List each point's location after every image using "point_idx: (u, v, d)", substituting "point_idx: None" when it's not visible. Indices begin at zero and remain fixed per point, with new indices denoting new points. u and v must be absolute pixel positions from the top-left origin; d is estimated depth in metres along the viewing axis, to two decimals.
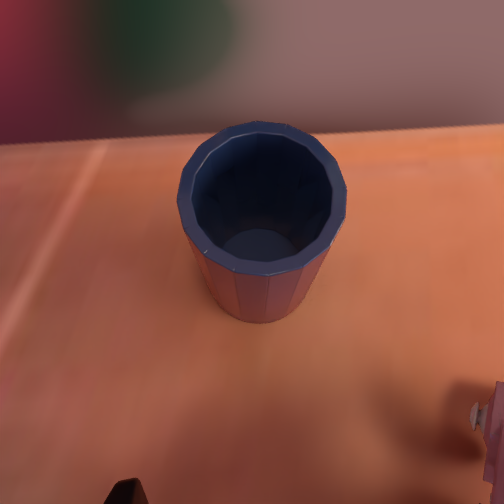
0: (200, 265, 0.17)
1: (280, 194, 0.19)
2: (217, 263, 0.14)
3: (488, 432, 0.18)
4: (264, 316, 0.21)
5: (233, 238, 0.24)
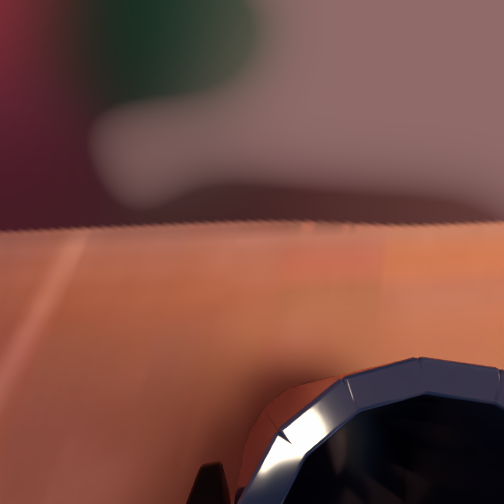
0: None
1: (399, 405, 0.10)
2: None
3: None
4: None
5: None
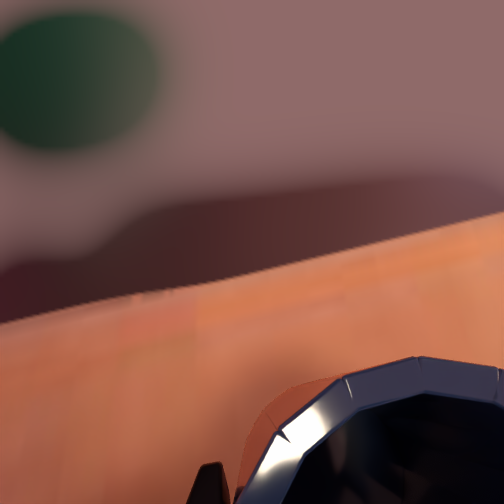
0: None
1: (398, 404, 0.10)
2: None
3: None
4: None
5: None
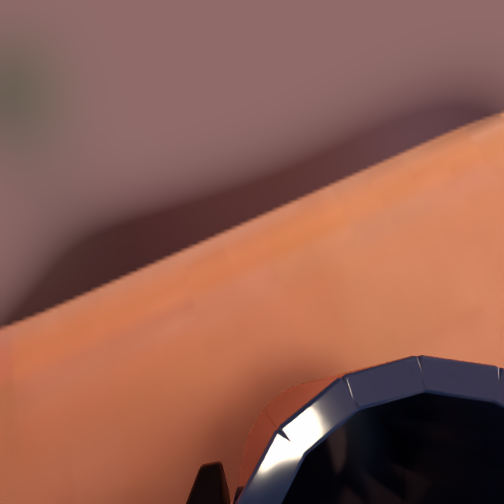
0: None
1: (399, 404, 0.10)
2: None
3: None
4: None
5: None
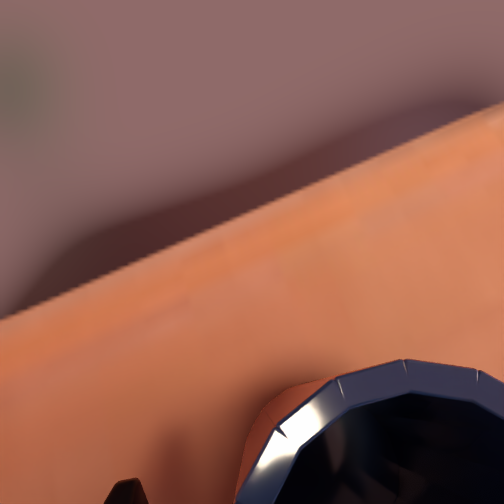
0: None
1: (390, 403, 0.11)
2: None
3: None
4: None
5: None
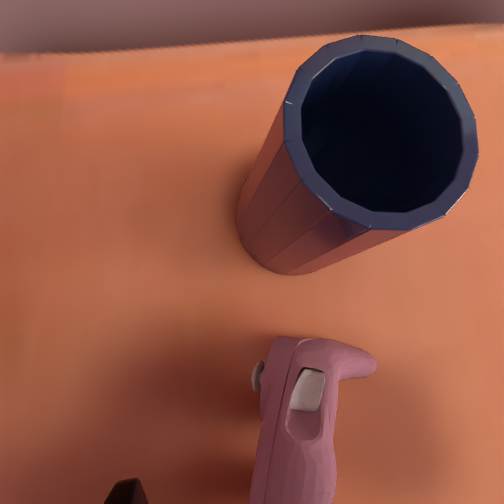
0: (262, 191, 0.14)
1: (362, 140, 0.17)
2: (314, 195, 0.11)
3: None
4: (295, 268, 0.18)
5: None
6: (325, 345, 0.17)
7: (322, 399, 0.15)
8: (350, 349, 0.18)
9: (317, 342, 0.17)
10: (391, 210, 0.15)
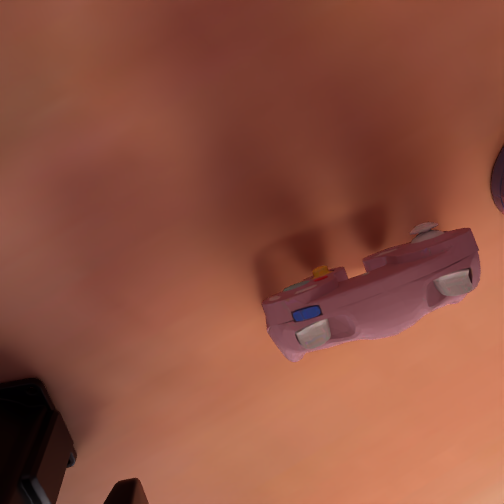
0: None
1: None
2: None
3: (423, 246, 0.18)
4: None
5: None
6: None
7: None
8: None
9: None
10: None
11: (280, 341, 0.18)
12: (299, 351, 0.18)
